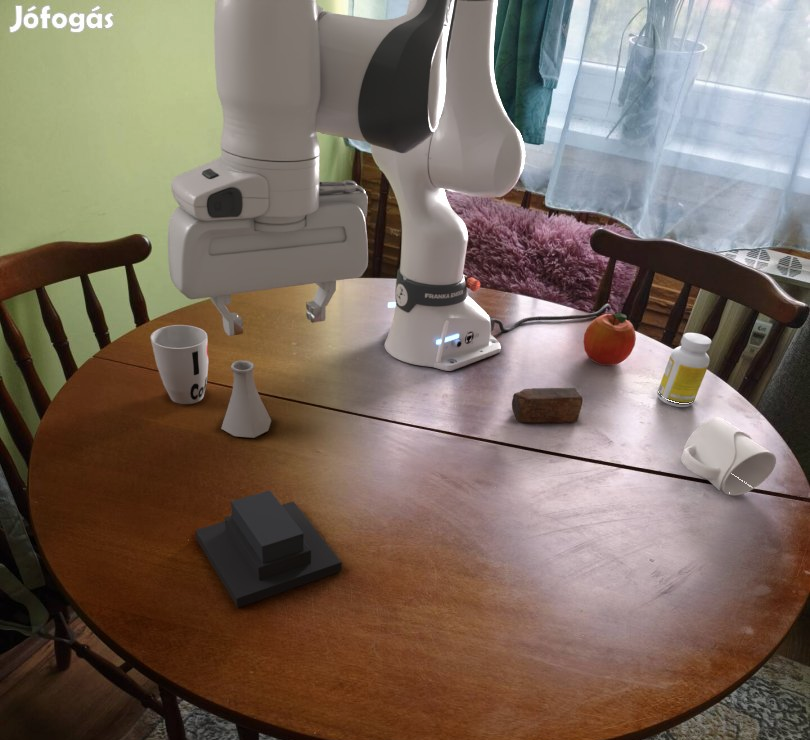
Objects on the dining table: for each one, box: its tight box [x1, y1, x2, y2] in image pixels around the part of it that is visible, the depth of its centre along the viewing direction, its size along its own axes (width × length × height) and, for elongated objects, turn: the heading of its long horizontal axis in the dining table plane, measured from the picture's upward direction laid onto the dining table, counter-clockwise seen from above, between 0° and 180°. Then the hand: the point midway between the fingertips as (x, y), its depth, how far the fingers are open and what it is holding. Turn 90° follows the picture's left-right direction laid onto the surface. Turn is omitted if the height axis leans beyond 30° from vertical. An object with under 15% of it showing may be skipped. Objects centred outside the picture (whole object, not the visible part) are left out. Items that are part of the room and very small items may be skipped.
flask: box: [220, 359, 272, 439], centre depth 101 cm, size 7×7×10 cm
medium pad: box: [224, 514, 311, 580], centre depth 81 cm, size 6×10×2 cm, turn 33°
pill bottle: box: [657, 332, 712, 408], centre depth 120 cm, size 6×6×12 cm
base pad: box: [194, 501, 343, 609], centre depth 83 cm, size 13×13×2 cm
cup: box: [150, 324, 209, 405], centre depth 106 cm, size 8×8×10 cm
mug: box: [680, 417, 777, 497], centre depth 102 cm, size 12×9×8 cm
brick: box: [511, 387, 584, 424], centre depth 113 cm, size 11×4×5 cm, turn 100°
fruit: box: [582, 311, 637, 366], centre depth 131 cm, size 10×10×10 cm
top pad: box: [230, 490, 304, 563], centre depth 80 cm, size 5×9×2 cm, turn 33°
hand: (275, 326), depth 73 cm, fingers open, 8 cm apart
